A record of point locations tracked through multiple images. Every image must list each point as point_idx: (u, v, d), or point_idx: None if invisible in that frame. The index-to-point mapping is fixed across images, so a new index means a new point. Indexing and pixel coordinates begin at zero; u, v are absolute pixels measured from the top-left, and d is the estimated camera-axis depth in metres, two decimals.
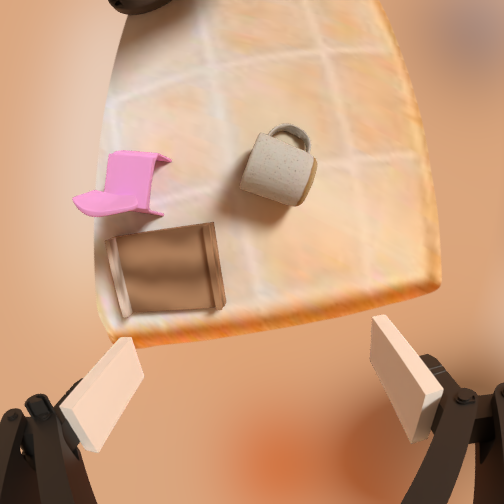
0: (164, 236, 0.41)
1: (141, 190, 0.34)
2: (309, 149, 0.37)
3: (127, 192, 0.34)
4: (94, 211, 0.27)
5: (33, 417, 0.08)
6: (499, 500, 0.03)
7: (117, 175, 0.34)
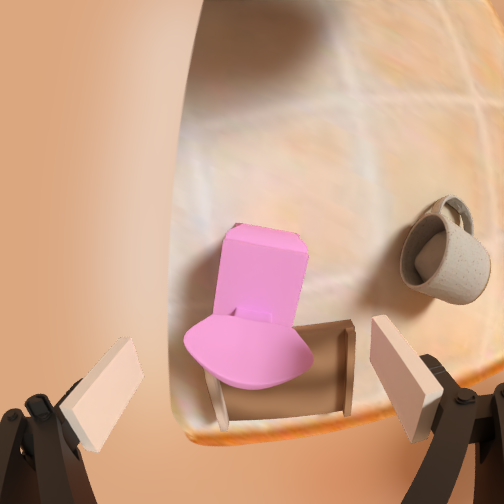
0: None
1: (285, 305, 0.23)
2: (472, 231, 0.25)
3: (259, 306, 0.23)
4: (250, 383, 0.16)
5: (33, 417, 0.08)
6: (499, 499, 0.03)
7: (240, 278, 0.22)
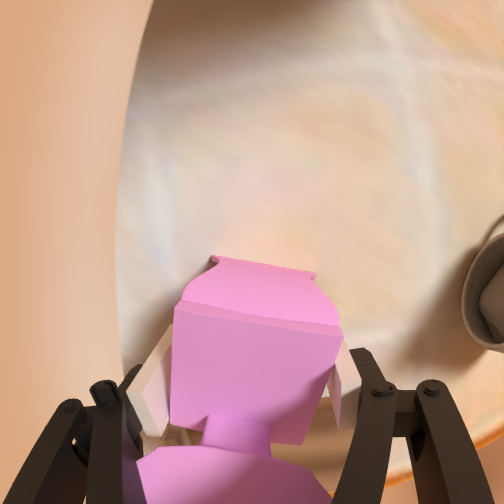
0: None
1: (294, 412, 0.11)
2: None
3: (248, 414, 0.12)
4: None
5: (97, 403, 0.09)
6: (443, 496, 0.04)
7: (212, 373, 0.11)
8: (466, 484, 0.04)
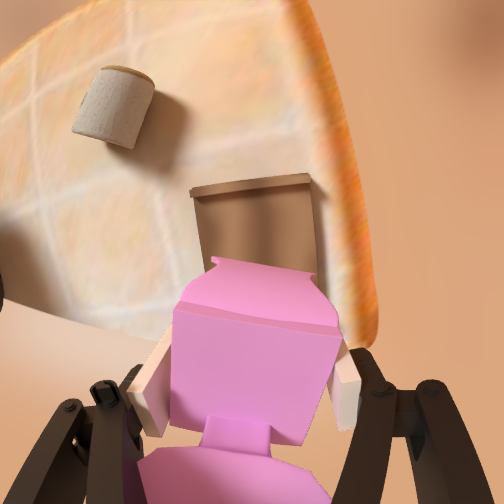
0: (209, 251, 0.32)
1: (294, 413, 0.11)
2: None
3: (248, 415, 0.12)
4: None
5: (97, 403, 0.09)
6: (443, 496, 0.04)
7: (211, 374, 0.11)
8: (466, 484, 0.04)
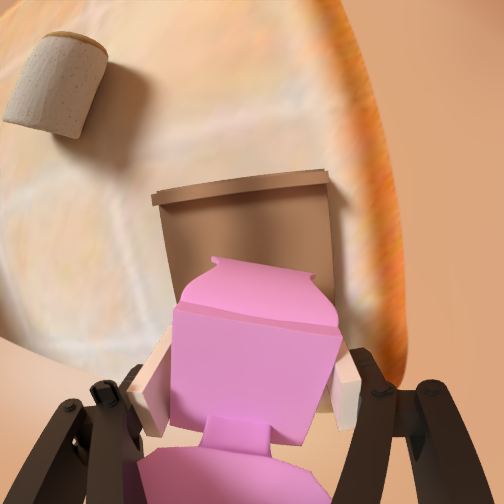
0: (183, 281, 0.22)
1: (294, 413, 0.11)
2: None
3: (248, 415, 0.12)
4: None
5: (97, 403, 0.09)
6: (443, 496, 0.04)
7: (212, 374, 0.11)
8: (466, 484, 0.04)
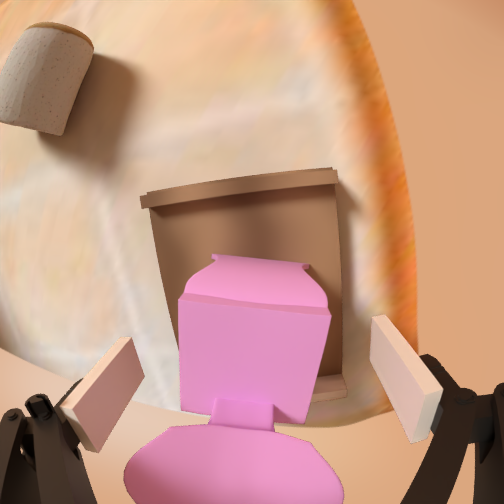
0: (176, 291, 0.20)
1: (294, 391, 0.13)
2: None
3: (252, 395, 0.13)
4: None
5: (33, 417, 0.08)
6: (499, 499, 0.03)
7: (216, 358, 0.13)
8: None
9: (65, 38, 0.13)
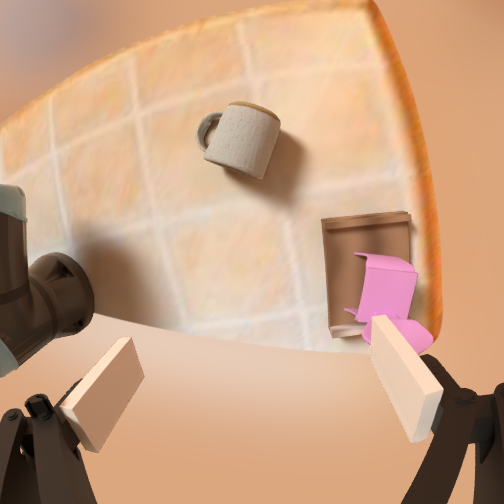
0: (333, 271, 0.39)
1: (403, 306, 0.31)
2: (221, 112, 0.35)
3: (388, 309, 0.32)
4: None
5: (33, 417, 0.08)
6: (499, 499, 0.03)
7: (378, 292, 0.31)
8: None
9: (275, 122, 0.32)
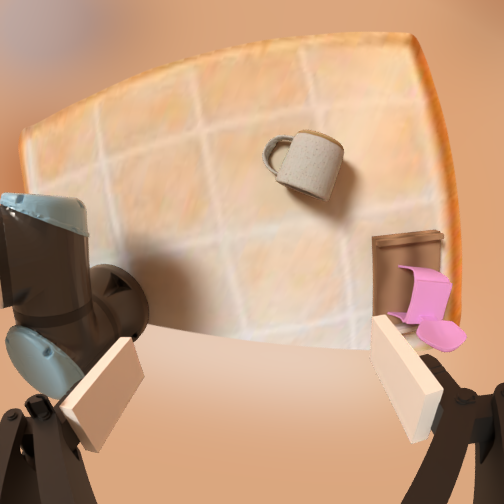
0: (381, 281, 0.43)
1: (440, 310, 0.36)
2: (288, 136, 0.39)
3: (429, 313, 0.36)
4: (451, 348, 0.29)
5: (33, 417, 0.08)
6: (499, 500, 0.03)
7: (423, 299, 0.36)
8: None
9: (341, 152, 0.36)
